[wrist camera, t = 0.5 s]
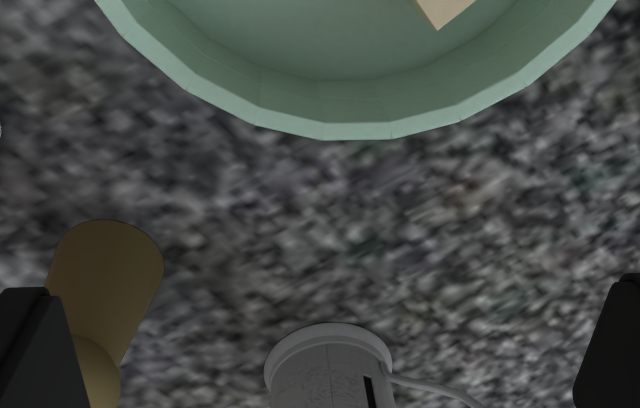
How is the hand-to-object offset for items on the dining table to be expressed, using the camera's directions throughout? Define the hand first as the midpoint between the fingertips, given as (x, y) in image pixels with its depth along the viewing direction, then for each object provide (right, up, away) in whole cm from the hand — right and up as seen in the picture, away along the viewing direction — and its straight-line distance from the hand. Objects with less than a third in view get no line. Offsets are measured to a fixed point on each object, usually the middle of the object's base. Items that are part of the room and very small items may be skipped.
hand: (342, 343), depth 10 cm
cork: (-12, -1, +22) cm, 26 cm away
